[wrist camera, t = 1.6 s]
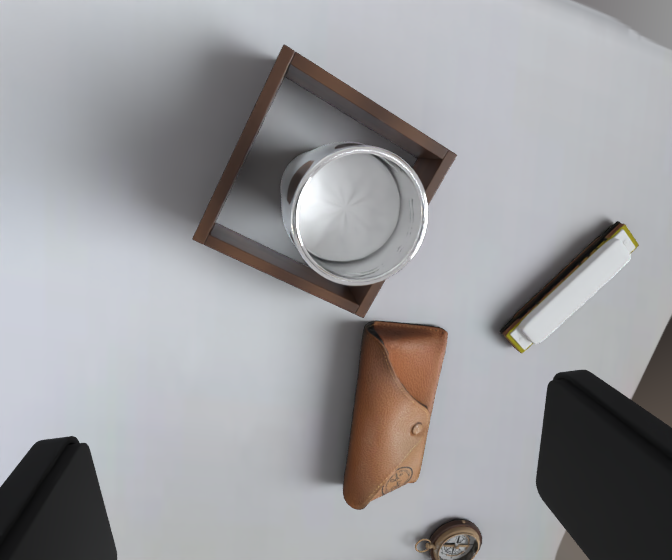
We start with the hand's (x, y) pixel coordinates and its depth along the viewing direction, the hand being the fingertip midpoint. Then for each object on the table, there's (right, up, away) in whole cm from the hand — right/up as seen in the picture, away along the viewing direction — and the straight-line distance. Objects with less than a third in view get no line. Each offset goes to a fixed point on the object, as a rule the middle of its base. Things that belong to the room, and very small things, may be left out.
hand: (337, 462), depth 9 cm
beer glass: (-1, +11, +25) cm, 28 cm away
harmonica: (+22, +3, +32) cm, 39 cm away
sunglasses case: (+5, -9, +33) cm, 34 cm away
